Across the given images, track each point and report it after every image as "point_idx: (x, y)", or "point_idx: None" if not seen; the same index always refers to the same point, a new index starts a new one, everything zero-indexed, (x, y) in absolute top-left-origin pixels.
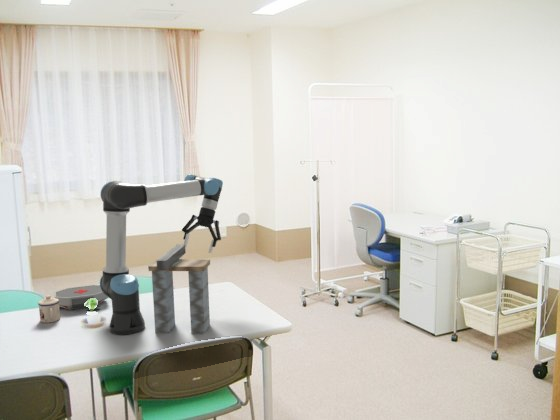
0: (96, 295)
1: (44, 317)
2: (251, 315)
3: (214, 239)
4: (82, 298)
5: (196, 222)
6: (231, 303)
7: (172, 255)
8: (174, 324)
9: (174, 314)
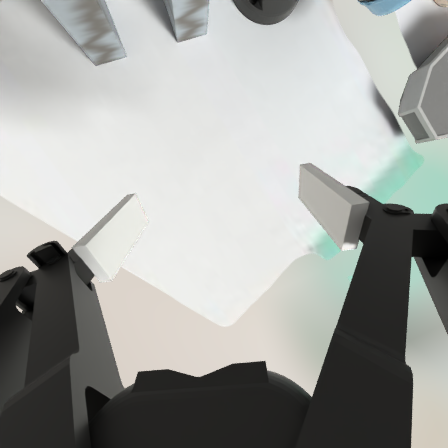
0: (425, 69)
1: None
2: (42, 163)
3: (44, 245)
4: (445, 45)
5: (404, 407)
6: None
7: None
8: (175, 35)
9: (174, 19)
